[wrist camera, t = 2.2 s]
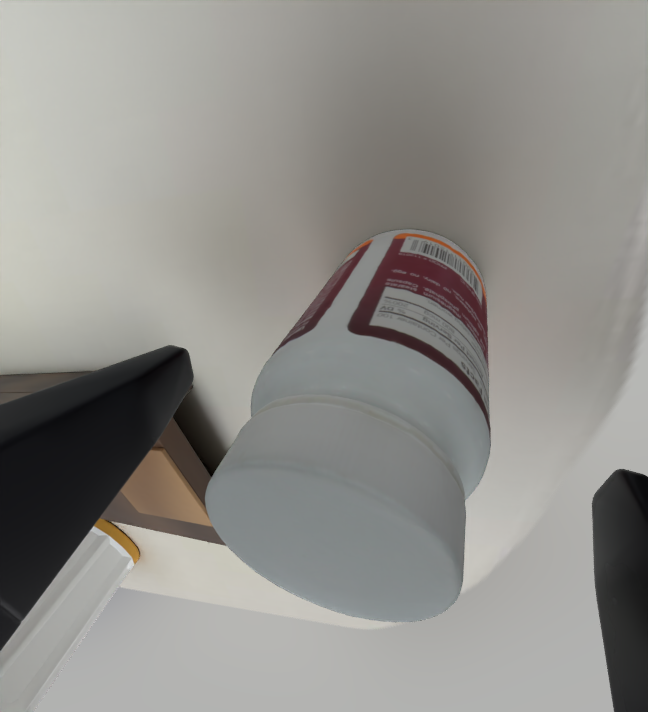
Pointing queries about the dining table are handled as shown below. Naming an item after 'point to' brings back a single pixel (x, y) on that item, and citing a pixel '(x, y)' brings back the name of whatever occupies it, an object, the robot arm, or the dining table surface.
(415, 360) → the pill bottle
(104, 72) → the dining table surface
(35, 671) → the cup
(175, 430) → the shelf
